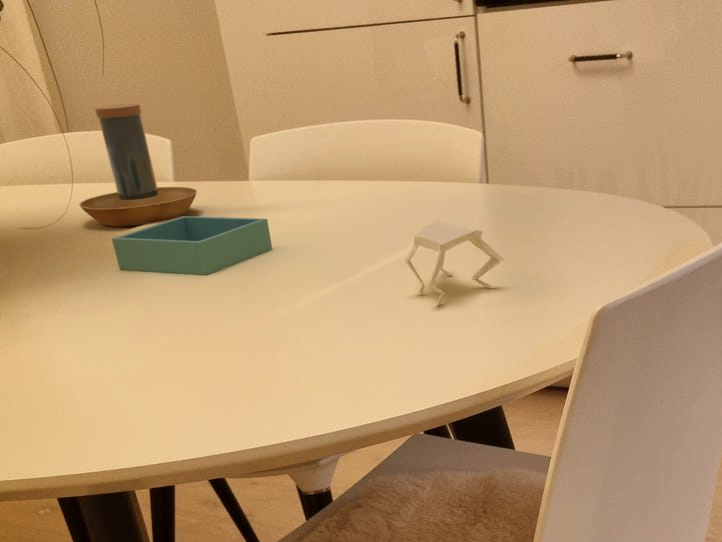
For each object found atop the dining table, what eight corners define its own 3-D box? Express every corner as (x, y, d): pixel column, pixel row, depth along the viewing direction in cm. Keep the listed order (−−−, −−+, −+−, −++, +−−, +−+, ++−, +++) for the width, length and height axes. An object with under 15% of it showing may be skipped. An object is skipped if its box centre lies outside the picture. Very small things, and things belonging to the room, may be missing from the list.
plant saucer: (83, 235, 116) (77, 212, 114) (85, 215, 127) (79, 194, 126) (205, 221, 119) (201, 198, 117) (196, 203, 131) (192, 182, 129)
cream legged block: (517, 295, 82) (515, 235, 79) (426, 310, 80) (420, 248, 77) (471, 267, 91) (468, 212, 88) (388, 279, 89) (382, 223, 86)
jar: (108, 199, 121) (85, 109, 115) (137, 192, 125) (115, 104, 119) (140, 200, 119) (118, 108, 113) (169, 192, 123) (149, 103, 117)
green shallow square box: (120, 274, 97) (111, 238, 95) (190, 249, 105) (183, 216, 103) (207, 280, 93) (199, 242, 91) (273, 253, 101) (267, 218, 99)
